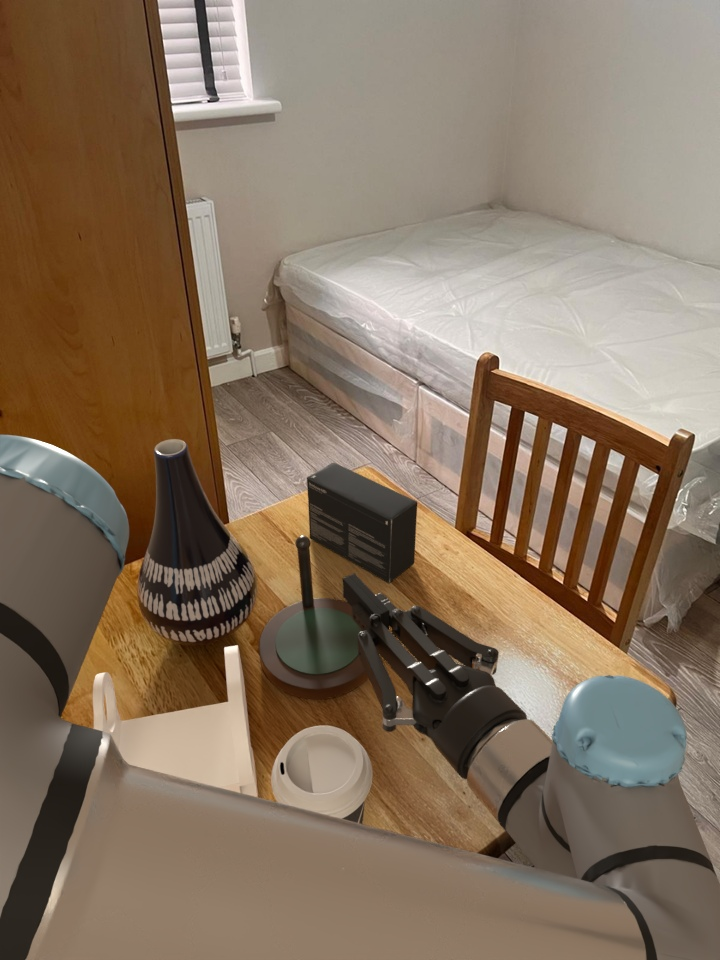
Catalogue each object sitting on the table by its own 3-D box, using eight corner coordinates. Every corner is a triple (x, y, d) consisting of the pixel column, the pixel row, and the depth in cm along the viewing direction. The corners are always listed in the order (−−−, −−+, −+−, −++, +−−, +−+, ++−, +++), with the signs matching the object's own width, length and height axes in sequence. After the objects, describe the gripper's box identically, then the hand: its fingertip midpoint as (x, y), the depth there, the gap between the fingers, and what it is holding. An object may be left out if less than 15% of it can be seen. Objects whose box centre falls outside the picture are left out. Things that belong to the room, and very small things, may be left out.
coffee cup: (296, 797, 81) (285, 711, 72) (381, 813, 79) (381, 726, 70) (270, 884, 73) (255, 799, 65) (364, 904, 71) (360, 819, 63)
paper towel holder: (395, 682, 93) (396, 602, 85) (271, 712, 90) (260, 632, 82) (361, 598, 106) (359, 521, 98) (251, 621, 102) (240, 544, 94)
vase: (285, 618, 103) (266, 441, 86) (197, 688, 93) (156, 503, 77) (212, 570, 112) (181, 401, 95) (124, 630, 102) (73, 452, 85)
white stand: (126, 861, 75) (85, 756, 65) (132, 754, 86) (97, 649, 75) (263, 832, 78) (244, 726, 67) (252, 731, 88) (234, 626, 78)
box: (417, 562, 112) (419, 500, 106) (389, 585, 108) (389, 522, 101) (336, 519, 122) (333, 459, 115) (308, 538, 118) (303, 478, 111)
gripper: (432, 815, 60) (296, 635, 76) (549, 740, 65) (399, 587, 82) (436, 760, 55) (291, 582, 72) (561, 685, 61) (400, 535, 77)
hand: (349, 585), depth 77 cm, fingers closed
